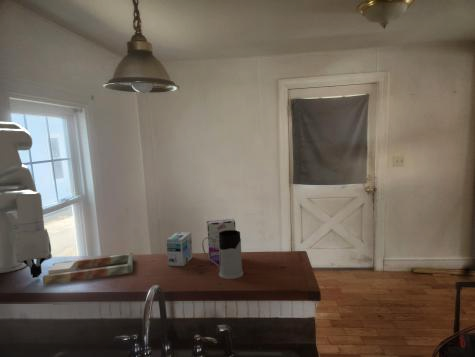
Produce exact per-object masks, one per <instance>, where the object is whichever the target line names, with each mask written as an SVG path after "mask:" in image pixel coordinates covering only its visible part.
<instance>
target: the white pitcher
mask: <svg viewBox="0 0 475 357" xmlns="http://www.w3.org/2000/svg"><path fill="white" fill-rule="evenodd" d="M208 238H210V239H212V240H213V242H214V247H215V241H214V239H213V238H211V237H205V238H203V240H202V242H201V244H202V251H203V253H204V255H205V257H206V258H207V259H208V261H209V260H211V259H210V258H209V255H208V254H207V252H206V251H205V248H204V247H205V246H204V241H205V240H208ZM219 245H220V247H219V248H216V247H215V248H216V249H219V257H220V263H215V262H214V261H213V260H211V261H212V262H213V263H214V265H215V266H217V267H218V270H219V272H218V276H219V277H220V278H222V279H226V280H233V279H239V278H241V277H242V276H243V275H244V272H243V263H242V259H243V258H242V238H241V232H240V231H239V230H226V231H222V232H220V233H219Z"/></svg>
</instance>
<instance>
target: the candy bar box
mask: <svg viewBox="0 0 475 357" xmlns="http://www.w3.org/2000/svg"><path fill="white" fill-rule="evenodd" d="M226 230H236V221H235V218H225V219H216V220H207V221H206V231H207V232H206V233H207V235H206V236H207V237H211V238H213V239H214V241H215V247H216V248H219V247H220V245H219V233H220V232H222V231H226ZM236 231H237V230H236ZM215 247H214V242H213V240H212V239H210V238H207V251H208V254H207V256H208V257H209V258H210V259H211V260H213V261H214V262H215V263H217V264H220V257H219V249H216V248H215ZM211 260H209V259H208V261H209V264H210V265H213V264H214V263H213V262H212V261H211ZM214 265H215V264H214Z"/></svg>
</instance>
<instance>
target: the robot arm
mask: <svg viewBox="0 0 475 357" xmlns="http://www.w3.org/2000/svg"><path fill="white" fill-rule="evenodd" d="M32 146H33V138H32V135H31V134H30V132H29V131H28V130H27V129H26V128H24V127H22V126H21V125H20V124H19V123H18V124H17V123H16V122H11V121H10V122H9V121H0V274H5V273H10V272H15V271H18V270H22V269H24V268H26V267H28V268H29V269H30V270H29V271H30V276H32V279H35V278H39V277H40V275H41V274H42V273H43V272H42V270H43V269H42V263H44V261H48V260H51V259H52V258H53V255H52V244H51V240H50V236H49V232H48V230H47V227H46V228H45V220H44V212H43V201H42V194H41V193H40V192H38V191H37V188H36V185H35V181H34V179H33V174H32V173H31V170H30V168H28V166H26V165H25V164H23V162H22V159H21V156H20V152H19V151H29V150H30V149H31V148H32ZM14 213H16V215H17V216H16V217H15V216H14V215H13V214H14Z"/></svg>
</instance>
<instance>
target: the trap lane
mask: <svg viewBox="0 0 475 357" xmlns="http://www.w3.org/2000/svg"><path fill="white" fill-rule="evenodd" d="M67 262H75V264H76V271H73V272H66V273H58V274H51V275H48V274H45V275H42V285H43V286H49V285H57V284H62V283H63V284H64V283H71V282H76V281H84V280H90V279H91V280H92V279H97V278H106V277H112V276H119V275H126V273H127V274H133V268H134V253H133V252H131V253H125V254H124V253H122V254H117V255H116V254H115V255H109V256H108V255H107V256H100V257H94V258H93V257H91V258H84V259H77V260H76V259H75V260H69V261H61V262H60V261H59V262H53V264H52V266H53V265H54V264H58V263H67ZM117 264H118V265H117ZM108 265H112V266H108ZM100 266H101V267H100ZM103 266H104V267H103ZM95 267H96V268H95ZM78 268H80V269H82V270H80V269H78Z"/></svg>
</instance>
